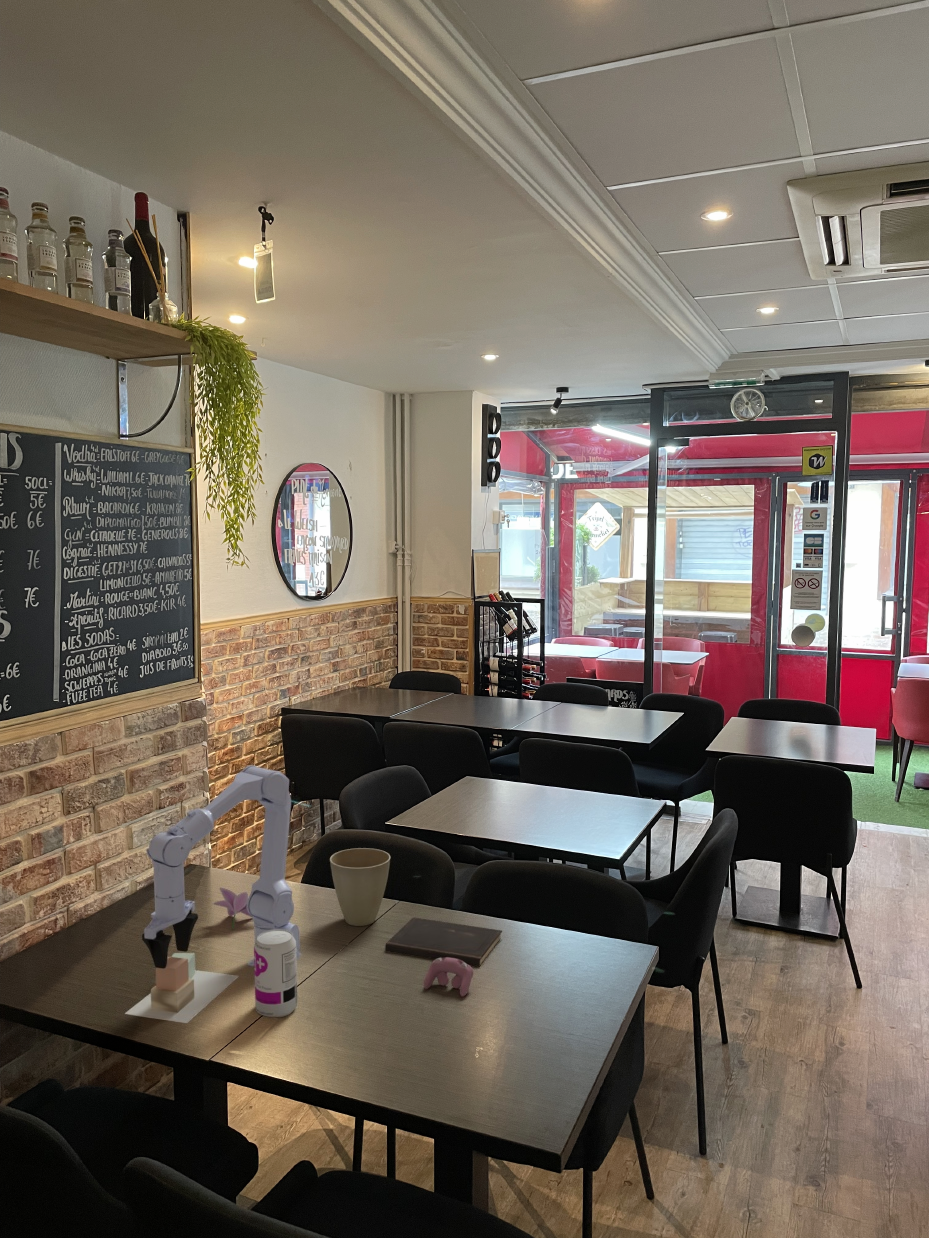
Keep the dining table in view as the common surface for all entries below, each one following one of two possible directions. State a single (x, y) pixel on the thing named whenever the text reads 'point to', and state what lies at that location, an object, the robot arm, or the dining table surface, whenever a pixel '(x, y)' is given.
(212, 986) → the mat
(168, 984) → the terracotta block
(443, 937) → the hardcover book
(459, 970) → the video game controller
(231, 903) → the lily
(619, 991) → the dining table surface
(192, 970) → the sage block
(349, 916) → the plant pot
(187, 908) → the robot arm
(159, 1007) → the birch base block
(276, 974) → the supplement can
